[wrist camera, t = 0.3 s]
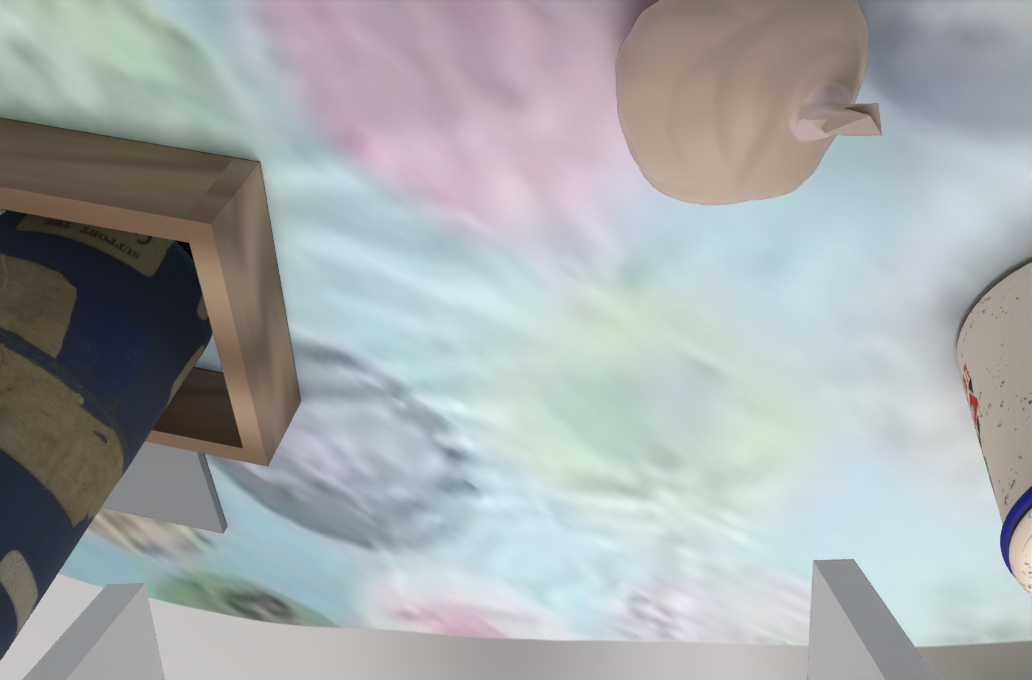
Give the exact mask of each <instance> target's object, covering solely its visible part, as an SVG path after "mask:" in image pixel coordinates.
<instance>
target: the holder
mask: <svg viewBox="0 0 1032 680" xmlns="http://www.w3.org/2000/svg"><path fill="white" fill-rule="evenodd" d="M0 209H5V210H10V211H16V212H21V213H27V214H32V215H38V216H44V217H49V218H55V219H60V220H66V221H71V222H77V223H82V224H88V225H93V226H99V227H105V228H110V229H116V230H121V231H127V232H132V233H138V234H143V235H149V236H154V237H160V238H166V239H171V240H177V241H182V242H188V243H189V244H190V247H191V251H192V255H193V259H194V263H195V267H196V270H197V274H198V278H199V282H200V286H201V289H202V293H203V297H204V301H205V305H206V309H207V312H208V316H209V320H210V324H211V328H212V331H213V335H214V339H215V343H216V347H217V351H218V354H219V358H220V362H221V366H222V370H223V373H224V374H223V373H218V372H213V371H208V370H202V369H197V368H192V369H191V371H190V372H189V374H188V375H187V376H186V378H185V379H184V381H183V383H182V385H181V386H180V388H179V389H178V391H177V392H176V393H175V395H174V396H173V398H172V400H171V401H170V403H169V404H168V406H167V407H166V409H165V410H164V412H163V413H162V415H161V416H160V418H159V419H158V421H157V423H156V424H155V426H154V427H153V429H152V431H151V432H150V434H149V435H148V437H147V439H146V440H145V442H150V443H155V444H160V445H164V446H169V447H174V448H179V449H184V450H189V451H194V452H199V453H204V454H209V455H214V456H219V457H223V458H228V459H233V460H238V461H243V462H248V463H253V464H258V465H263V466H268V465H269V463H270V461H271V459H272V457H273V455H274V453H275V451H276V449H277V448H278V446H279V444H280V442H281V440H282V438H283V436H284V434H285V432H286V430H287V428H288V426H289V424H290V422H291V420H292V418H293V416H294V414H295V412H296V410H297V409H298V407H299V405H300V403H301V400H300V394H299V388H298V382H297V376H296V371H295V365H294V359H293V353H292V347H291V341H290V336H289V330H288V324H287V318H286V312H285V306H284V300H283V295H282V289H281V283H280V277H279V271H278V265H277V260H276V254H275V248H274V242H273V236H272V230H271V225H270V219H269V213H268V207H267V201H266V195H265V190H264V184H263V178H262V172H261V166H260V162H255V161H249V160H243V159H237V158H231V157H225V156H219V155H214V154H208V153H202V152H196V151H190V150H184V149H178V148H172V147H167V146H161V145H155V144H149V143H143V142H137V141H131V140H125V139H119V138H114V137H108V136H102V135H96V134H90V133H84V132H78V131H72V130H67V129H61V128H55V127H49V126H43V125H37V124H31V123H25V122H20V121H14V120H8V119H2V118H0Z"/></svg>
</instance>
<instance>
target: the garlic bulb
mask: <svg viewBox="0 0 1032 680" xmlns="http://www.w3.org/2000/svg"><path fill="white" fill-rule="evenodd" d="M868 46H869V32H868V26H867V22H866V19H865V16H864V14H863V12H862V10H861V8H860V6H859V3H858V0H659V1H658V2H656V3H655V4H653V5H652V6H650V7H648V8H647V9H645V10H644V11H643V12H642V13H641V14H640V15H639V17H638V18H637V20H636V22H635V24H634V26H633V28H632V29H631V31H630V33H629V34H628V35H627V36H626V38H625V39H624V41H623V42H622V44H621V46H620V49H619V51H618V54H617V58H616V97H617V108H618V117H619V121H620V125H621V128H622V131H623V134H624V136H625V139H626V142H627V145H628V148H629V150H630V153H631V155H632V157H633V159H634V160H635V162H636V163H637V164H638V166H639V168H640V170H641V172H642V174H643V175H644V177H645V178H646V180H647V181H648V182H649V183H650V184H651V185H652V186H653V187H654V188H656V189H657V190H658V191H660V192H661V193H663V194H665V195H667V196H669V197H672V198H674V199H677V200H680V201H684V202H688V203H694V204H703V205H728V204H735V203H740V202H744V201H748V200H761V199H768V198H773V197H778V196H781V195H785V194H788V193H790V192H792V191H794V190H796V189H797V188H798V187H799V186H800V185H801V184H802V183H803V182H804V181H805V180H807V179H808V178H809V177H810V176H811V175H812V174H813V173H814V171H815V170H816V168H817V167H818V165H819V163H820V161H821V159H822V157H823V155H824V153H825V152H826V150H827V149H828V147H829V146H830V145H831V143H832V142H833V140H834V139H835V137H836V135H843V136H868V135H882V133H881V124H880V116H879V107H878V104H854V103H855V101H856V98H857V96H858V93H859V90H860V87H861V83H862V80H863V77H864V74H865V70H866V66H867V59H868Z"/></svg>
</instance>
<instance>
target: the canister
mask: <svg viewBox="0 0 1032 680" xmlns="http://www.w3.org/2000/svg"><path fill="white" fill-rule="evenodd" d="M212 333H213V331H212V328H211V324H210V320H209V316H208V312H207V309H206V305H205V301H204V297H203V293H202V289H201V286H200V282H199V278H198V274H197V270H196V267H195V263H194V261H193V260H192V259H191V257H190V256H189V255H188V253H187V252H186V251H185V250H184V249H183V248H182V247H181V246H180V245H179V244H178V243H177V242H176V241H175V240H171V239H166V238H160V237H154V236H149V235H143V234H138V233H132V232H127V231H121V230H116V229H110V228H105V227H99V226H93V225H88V224H82V223H77V222H71V221H66V220H60V219H55V218H49V217H44V216H38V215H32V214H27V213H21V212H16V211H10V210H6V211H5V212H4V213H3V214H2V215H1V216H0V660H1V659H2V658H3V656H4V655H5V653H6V652H7V650H8V649H9V647H10V646H11V644H12V643H13V641H14V639H15V638H16V636H17V635H18V633H19V632H20V630H21V629H22V627H23V626H24V624H25V623H26V621H27V620H28V618H29V617H30V615H31V614H32V612H33V610H34V609H35V607H36V606H37V604H38V603H39V602H40V600H41V598H42V597H43V595H44V594H45V592H46V591H47V589H48V588H49V586H50V585H51V583H52V582H53V580H54V578H55V577H56V575H57V574H58V572H59V571H60V569H61V568H62V566H63V565H64V563H65V562H66V560H67V559H68V557H69V556H70V554H71V553H72V551H73V549H74V548H75V546H76V545H77V543H78V542H79V540H80V539H81V537H82V536H83V534H84V532H85V531H86V529H87V528H88V526H89V525H90V523H91V522H92V520H93V519H94V517H95V516H96V514H97V513H98V511H99V510H100V509H101V508H102V506H103V504H104V503H105V501H106V500H107V498H108V496H109V495H110V493H111V492H112V490H113V489H114V487H115V486H116V484H117V483H118V481H119V480H120V479H121V477H122V476H123V475H124V473H125V472H126V470H127V469H128V467H129V466H130V464H131V463H132V461H133V459H134V458H135V456H136V455H137V453H138V451H139V450H140V448H141V447H142V445H143V443H144V442H145V440H146V439H147V437H148V435H149V434H150V432H151V431H152V429H153V427H154V426H155V424H156V423H157V421H158V419H159V418H160V416H161V415H162V413H163V412H164V410H165V409H166V407H167V406H168V404H169V403H170V401H171V400H172V398H173V396H174V395H175V393H176V392H177V391H178V389H179V388H180V386H181V385H182V383H183V381H184V379H185V378H186V376H187V375H188V374H189V372H190V371H191V369H192V368H193V367H194V365H195V364H196V362H197V361H198V359H199V358H200V356H201V355H202V353H203V352H204V350H205V348H206V347H207V345H208V343H209V341H210V339H211V336H212Z"/></svg>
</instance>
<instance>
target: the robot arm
mask: <svg viewBox="0 0 1032 680" xmlns="http://www.w3.org/2000/svg"><path fill="white" fill-rule="evenodd" d="M23 680H165V678H164V673H163V668H162V664H161V659H160V654H159V649H158V645H157V639H156V634H155V630H154V625H153V620H152V615H151V610H150V605H149V601H148V596H147V591H146V586H145V583H138V584H109V585H106V587H105V588H104V589H103V590H102V591H101V592H100V593H99V594H98V595H97V597H96V598H95V599H94V600H93V601H92V602H91V603H90V605H89V606H88V607H87V608H86V609H85V610H84V611H83V612H82V613H81V615H80V616H79V617H78V618H77V619H76V620H75V621H74V622H73V624H72V625H71V626H70V627H69V628H68V629H67V630H66V631H65V633H64V634H63V635H62V636H61V637H60V638H59V639H58V640H57V642H56V643H55V644H54V645H53V646H52V647H51V648H50V650H49V651H48V652H47V653H46V654H45V655H44V656H43V657H42V658H41V660H40V661H39V662H38V663H37V664H36V665H35V666H34V667H33V669H32V670H31V671H30V672H29V673H28V674H27V675H26V676H25V677H24V679H23ZM807 680H937V678H936V677H935V675H934V674H933V673H932V671H931V670H930V668H929V667H928V665H927V664H926V663H925V661H924V660H923V658H922V657H921V655H920V654H919V652H918V651H917V649H916V648H915V647H914V645H913V644H912V642H911V641H910V639H909V638H908V637H907V635H906V634H905V632H904V631H903V629H902V628H901V626H900V625H899V624H898V622H897V621H896V619H895V618H894V616H893V615H892V614H891V612H890V611H889V609H888V608H887V606H886V605H885V603H884V602H883V601H882V599H881V598H880V596H879V595H878V593H877V592H876V591H875V589H874V588H873V586H872V585H871V583H870V582H869V581H868V579H867V578H866V576H865V575H864V573H863V572H862V570H861V569H860V568H859V566H858V565H857V563H856V562H855V560H854V559H841V560H813V575H812V593H811V611H810V630H809V649H808V667H807Z"/></svg>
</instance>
